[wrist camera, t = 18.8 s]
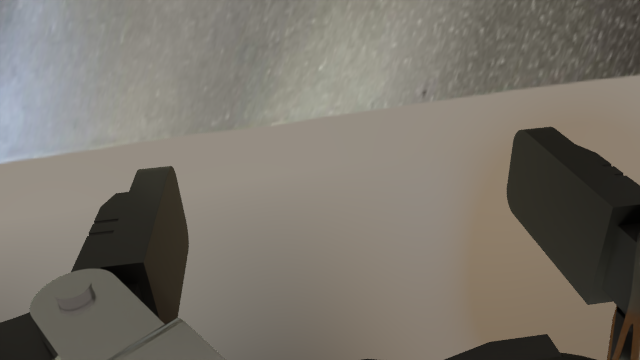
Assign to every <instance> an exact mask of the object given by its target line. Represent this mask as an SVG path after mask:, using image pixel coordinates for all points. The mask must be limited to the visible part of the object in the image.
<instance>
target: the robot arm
mask: <svg viewBox="0 0 640 360" xmlns="http://www.w3.org/2000/svg"><path fill="white" fill-rule="evenodd" d="M507 200H508V204H509V207H510V209H511V211H512V213H513V214H514V215H515V217H516V218H517V219H518V220H519V222H520V223H521V224H522V225H523V226H524V227H525V229H526V230H527V231H528V233H529V234H530V235H531V236H532V237H533V239H534V240H535V241H536V242H537V243H538V245H539V246H540V247H541V248H542V250H543V251H544V252H545V253H546V255H547V256H548V257H549V258H550V259H551V260H552V262H553V263H554V264H555V265H556V267H557V268H558V269H559V270H560V271H561V273H562V274H563V275H564V276H565V278H566V279H567V280H568V281H569V283H570V284H571V285H572V286H573V287H574V289H575V290H576V291H577V292H578V293H579V295H580V296H581V297H582V298H583V300H584V301H585V302H586V303H587V304H588V305H590V304H597V303H605V302H612V301H614V303H615V304H616V309H615V312H614V315H613V319H612V325H611V333H610V340H609V347H608V354H607V360H640V186H639V185H638V184H637V183H636V182H634V181H633V180H632V179H630V178H629V177H627V176H623V173H622V172H621V171H619V170H618V169H617V168H616V167H614V166H613V167H611V164H610V163H609V162H608V161H606V160H605V159H604V158H602V157H601V156H600V155H598V154H597V153H595V152H592V151H590V150H588V149H585V148H583V147H581V146H578V145H576V144H574V143H573V142H571V141H570V140H569V139H568V138H566V137H565V136H564V135H562V134H561V133H560V132H559V131H557V130H556V129H555V128H553V127H544V128H535V129H526V130H519V131H518V132H517V133H516V135H515V137H514V141H513V147H512V154H511V162H510V170H509V177H508V184H507ZM188 244H189V241H188V230H187V224H186V219H185V214H184V210H183V205H182V200H181V196H180V191H179V187H178V182H177V178H176V174H175V171H174V168H173V167H172V166H169V167H158V168H149V169H139V170H138V171H137V173H136V175H135V178H134V180H133V183H132V186H131V188H130V191H129V192H125V193H116V194H115V195H114V196H113V197H111V198H110V199H109V200H108V201H107V202H106V203H105V204H104V205H102V206H101V208H100V210H99V212H98V214H97V216H96V218H95V221H94V224H93V225H92V227H91V230H90V232H89V236H87V238H86V240H85V243H84V245H83V247H82V249H81V251H80V254H79V256H78V258H77V260H76V262H75V264H74V266H73V269H72V271H71V273H68V274H65V275H63V276H60V277H58V278H57V279H55V280H53V281H51V282H50V283H48V284H47V285H46V286H44V287H43V288H42V289H41V290H40V291H39V292H38V293H37V294H36V296H35V297H34V298H33V300H32V302H31V305H30V312H29V313H27V314H24V315H22V316H19V317H16V318H13V319H10V320H7V321H4V322H1V323H0V360H226V359H225V358H224V357H223V356H222V355H221V354H219V353H218V352H217V351H216V350H215V349H214V348H213V347H212V346H211V345H210V344H209V343H208V342H207V341H205V340H204V339H203V338H202V337H201V336H200V335H199V334H198V333H197V332H196V331H195V330H194V329H192V328H191V327H190V326H189V325H188V324H187V323H186V322H185V321H183V320H182V319H180V318H178V312H179V305H180V298H181V293H182V286H183V280H184V274H185V268H186V261H187V255H188V247H189V245H188ZM364 360H374V359H364ZM445 360H596V359H591V358H587V357H584V356H579V355H573V354H567V353H560V352H559V351H558V349H557V348H556V346H555V345H554V343H553V342H552V340H551V339H550V337H549V336H548V335H547V334H545V335H537V336H530V337H523V338H515V339H508V340H501V341H494V342H489V343H486V344H483V345H481V346H478V347H476V348H473V349H471V350H468V351H465V352H463V353H460V354H458V355H455V356H453V357H450V358H448V359H445Z"/></svg>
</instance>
